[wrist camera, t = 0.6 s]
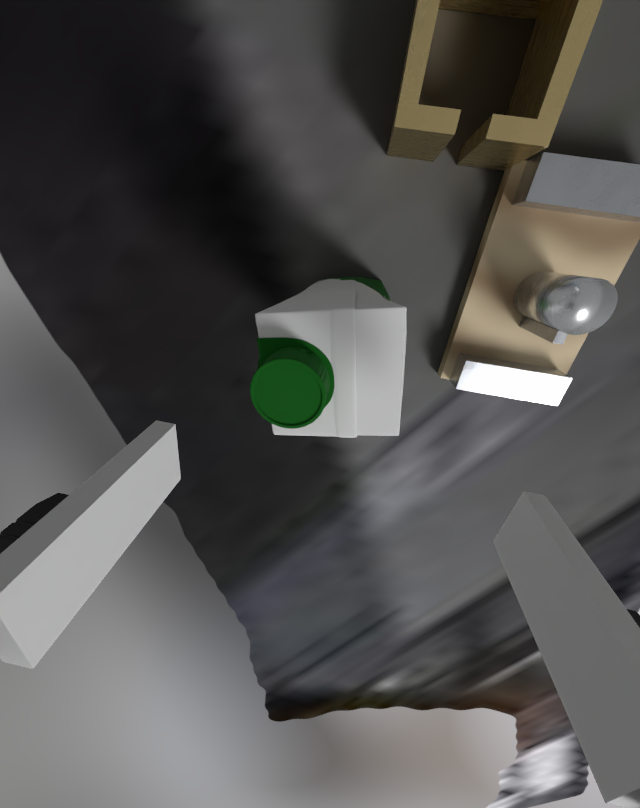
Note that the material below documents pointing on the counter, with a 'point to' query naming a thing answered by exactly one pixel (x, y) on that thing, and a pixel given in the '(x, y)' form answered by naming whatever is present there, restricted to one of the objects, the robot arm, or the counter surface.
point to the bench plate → (521, 257)
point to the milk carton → (332, 361)
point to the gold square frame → (533, 95)
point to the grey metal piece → (557, 274)
